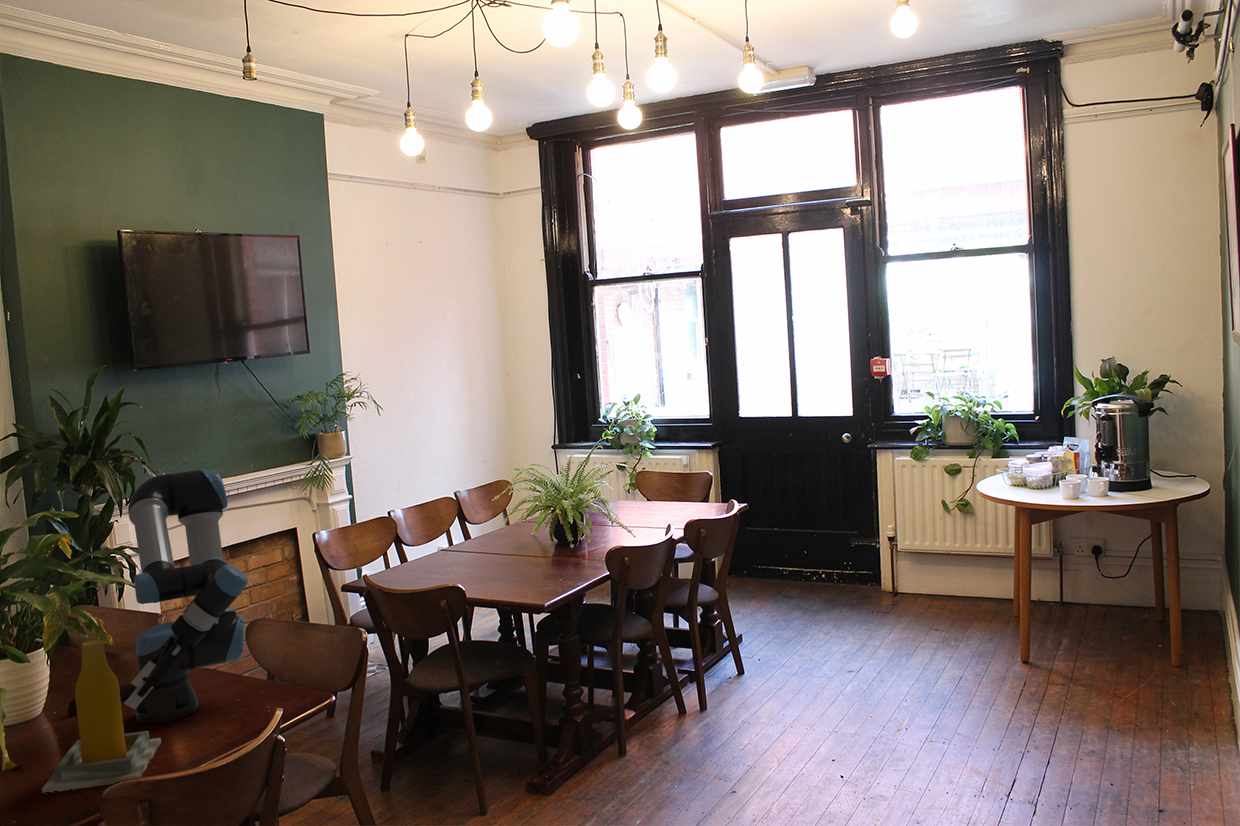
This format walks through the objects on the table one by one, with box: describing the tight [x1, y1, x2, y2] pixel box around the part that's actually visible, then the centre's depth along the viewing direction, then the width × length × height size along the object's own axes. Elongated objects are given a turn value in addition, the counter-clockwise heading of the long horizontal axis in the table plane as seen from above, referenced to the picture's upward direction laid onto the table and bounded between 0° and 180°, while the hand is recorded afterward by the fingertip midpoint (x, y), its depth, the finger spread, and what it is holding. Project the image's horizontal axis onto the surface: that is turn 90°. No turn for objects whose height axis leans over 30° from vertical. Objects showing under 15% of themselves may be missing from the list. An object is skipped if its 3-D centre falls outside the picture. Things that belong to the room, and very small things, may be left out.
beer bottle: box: [74, 639, 126, 764], centre depth 222 cm, size 9×9×29 cm
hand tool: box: [67, 683, 137, 716], centre depth 262 cm, size 19×4×5 cm, turn 138°
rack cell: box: [41, 730, 162, 794], centre depth 224 cm, size 20×20×4 cm
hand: (132, 695), depth 225 cm, fingers open, 13 cm apart
